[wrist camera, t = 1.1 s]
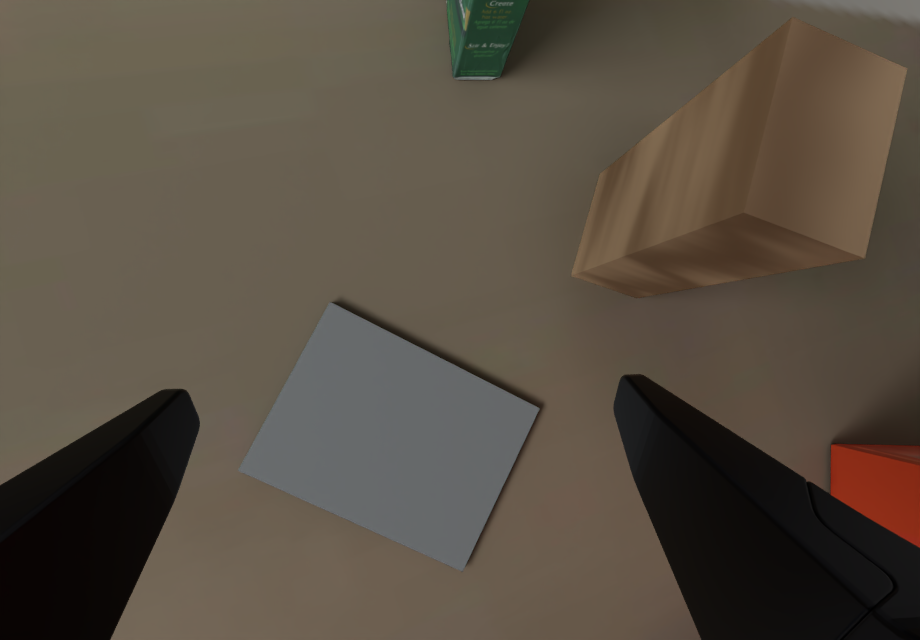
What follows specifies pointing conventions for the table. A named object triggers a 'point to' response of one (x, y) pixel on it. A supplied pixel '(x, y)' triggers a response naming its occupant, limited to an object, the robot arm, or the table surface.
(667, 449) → the robot arm
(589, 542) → the table surface
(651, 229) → the tall wooden block tower
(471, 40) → the coffee box
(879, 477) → the file binder
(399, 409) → the mat
